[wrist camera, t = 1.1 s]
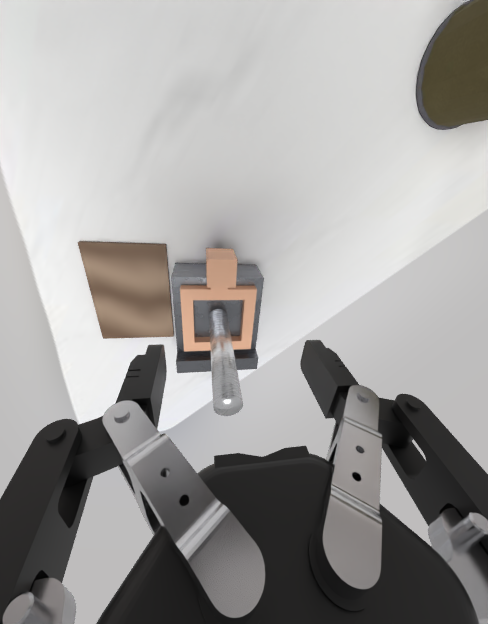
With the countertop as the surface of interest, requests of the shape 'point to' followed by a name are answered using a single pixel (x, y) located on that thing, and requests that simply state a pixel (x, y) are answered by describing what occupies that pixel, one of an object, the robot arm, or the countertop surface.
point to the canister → (456, 69)
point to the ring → (218, 288)
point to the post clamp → (217, 334)
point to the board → (129, 288)
